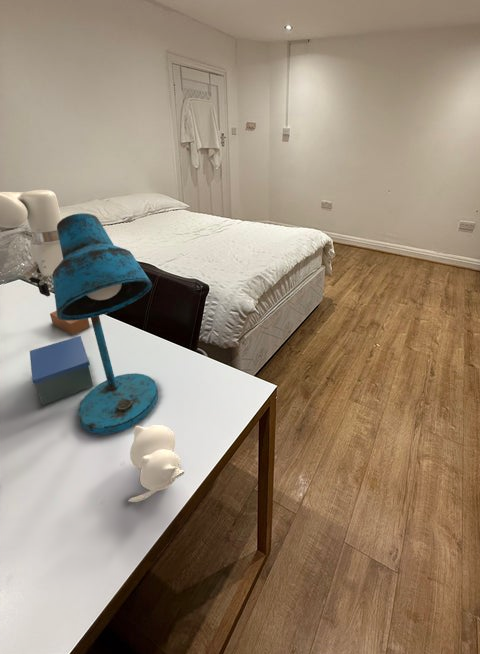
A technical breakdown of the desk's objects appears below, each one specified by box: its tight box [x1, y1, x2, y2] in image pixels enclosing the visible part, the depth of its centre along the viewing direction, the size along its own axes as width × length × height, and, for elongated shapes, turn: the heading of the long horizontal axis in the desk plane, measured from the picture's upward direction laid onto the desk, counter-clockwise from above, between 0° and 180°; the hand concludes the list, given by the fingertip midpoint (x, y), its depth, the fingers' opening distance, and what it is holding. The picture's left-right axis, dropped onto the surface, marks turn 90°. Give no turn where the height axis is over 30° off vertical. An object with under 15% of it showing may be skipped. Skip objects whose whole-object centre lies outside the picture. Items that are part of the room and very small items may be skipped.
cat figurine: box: [128, 424, 185, 503], centre depth 59 cm, size 9×11×12 cm
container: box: [29, 335, 94, 406], centre depth 79 cm, size 13×11×8 cm
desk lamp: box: [51, 212, 159, 435], centre depth 65 cm, size 16×22×45 cm
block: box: [49, 310, 91, 336], centre depth 101 cm, size 11×5×4 cm, turn 63°
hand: (64, 288), depth 97 cm, fingers open, 9 cm apart
